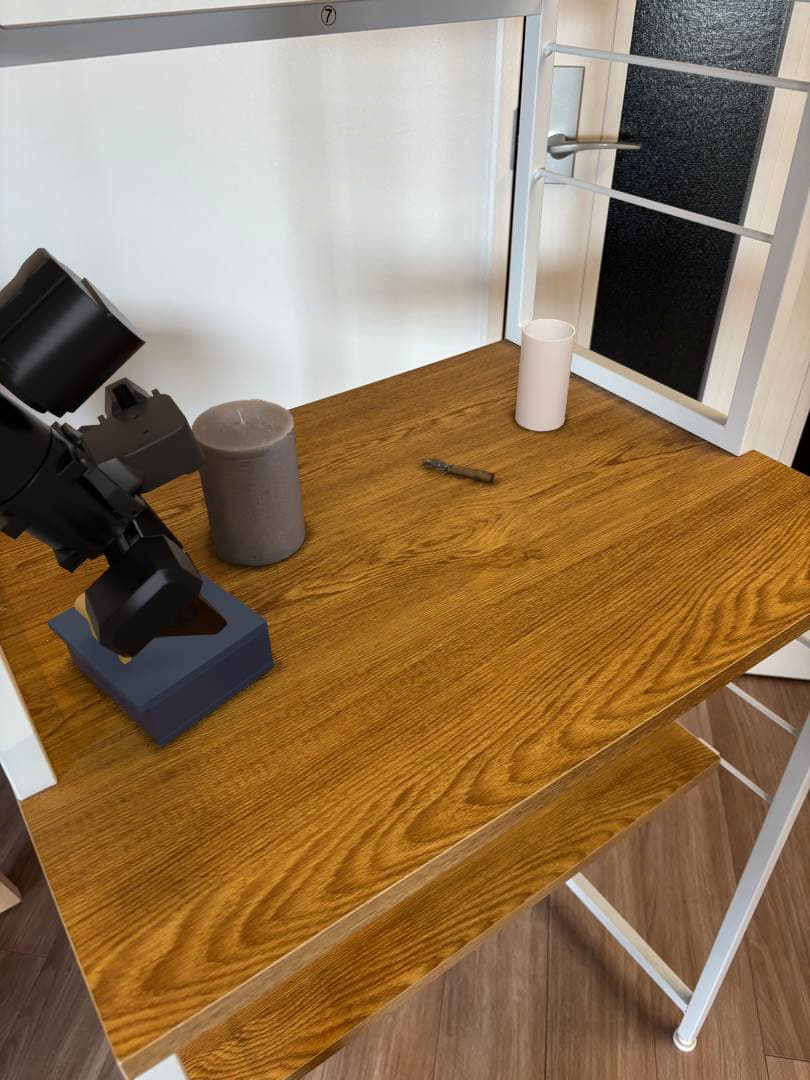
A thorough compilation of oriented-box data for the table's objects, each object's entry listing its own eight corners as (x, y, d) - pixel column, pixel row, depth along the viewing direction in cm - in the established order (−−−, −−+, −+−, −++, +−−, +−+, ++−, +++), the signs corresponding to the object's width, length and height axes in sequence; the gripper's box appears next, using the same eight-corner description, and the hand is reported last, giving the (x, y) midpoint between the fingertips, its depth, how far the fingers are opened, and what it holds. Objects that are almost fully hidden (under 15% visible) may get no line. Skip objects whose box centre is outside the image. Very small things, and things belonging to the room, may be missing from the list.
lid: (140, 713, 62) (125, 666, 59) (49, 628, 69) (30, 581, 66) (268, 627, 69) (260, 580, 66) (172, 557, 77) (161, 512, 73)
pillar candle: (204, 567, 83) (176, 438, 74) (222, 509, 90) (200, 386, 81) (301, 567, 83) (285, 438, 73) (311, 509, 90) (299, 386, 81)
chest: (162, 747, 66) (150, 708, 63) (72, 662, 73) (58, 623, 70) (274, 666, 72) (268, 627, 69) (182, 596, 80) (173, 558, 77)
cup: (505, 420, 105) (512, 331, 97) (532, 401, 108) (540, 314, 101) (547, 436, 101) (557, 345, 94) (573, 416, 105) (585, 327, 98)
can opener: (495, 479, 94) (495, 471, 94) (486, 490, 93) (487, 481, 92) (425, 459, 98) (425, 451, 97) (416, 469, 96) (415, 460, 96)
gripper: (168, 440, 40) (342, 584, 51) (79, 306, 53) (234, 446, 64) (2, 600, 40) (212, 708, 51) (-47, 428, 53) (130, 545, 64)
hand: (199, 587), depth 58 cm, fingers open, 9 cm apart
